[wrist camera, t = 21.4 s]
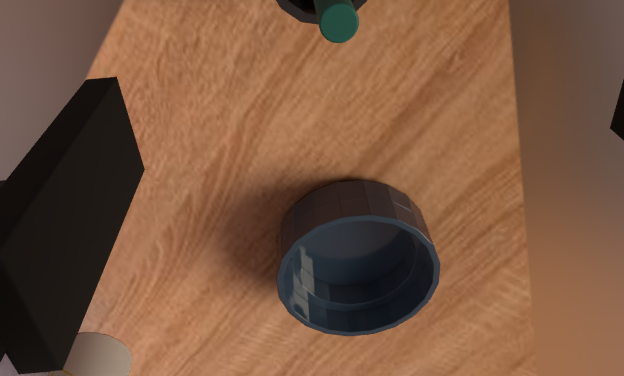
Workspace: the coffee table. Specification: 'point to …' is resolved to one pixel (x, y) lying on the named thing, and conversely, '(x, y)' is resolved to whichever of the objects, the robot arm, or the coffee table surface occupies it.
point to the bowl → (355, 259)
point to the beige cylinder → (96, 357)
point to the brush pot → (307, 9)
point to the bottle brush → (336, 19)
